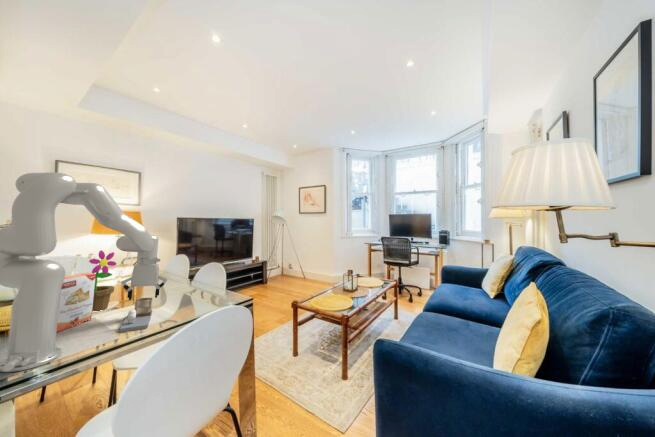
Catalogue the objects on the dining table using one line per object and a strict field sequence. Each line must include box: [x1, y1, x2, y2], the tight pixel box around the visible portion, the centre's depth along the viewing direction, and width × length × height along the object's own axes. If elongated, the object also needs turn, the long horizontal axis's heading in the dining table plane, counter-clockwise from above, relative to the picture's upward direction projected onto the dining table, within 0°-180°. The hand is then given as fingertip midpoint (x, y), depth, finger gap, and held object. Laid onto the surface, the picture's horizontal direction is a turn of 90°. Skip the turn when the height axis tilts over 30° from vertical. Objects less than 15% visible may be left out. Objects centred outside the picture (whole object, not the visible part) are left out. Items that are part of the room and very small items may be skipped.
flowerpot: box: [88, 250, 118, 312], centre depth 119 cm, size 14×14×30 cm
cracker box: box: [56, 272, 96, 334], centre depth 101 cm, size 14×6×21 cm, turn 179°
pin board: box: [119, 309, 153, 334], centre depth 107 cm, size 20×9×7 cm, turn 32°
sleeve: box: [134, 296, 153, 317], centre depth 112 cm, size 6×6×7 cm
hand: (143, 298), depth 112 cm, fingers open, 9 cm apart
